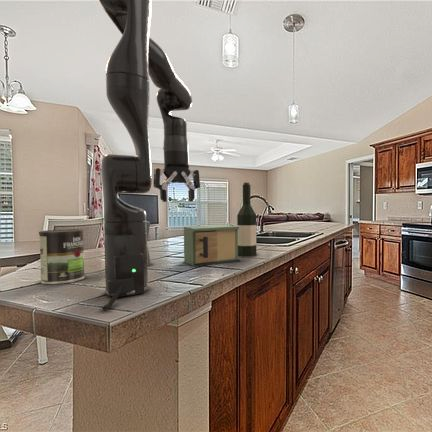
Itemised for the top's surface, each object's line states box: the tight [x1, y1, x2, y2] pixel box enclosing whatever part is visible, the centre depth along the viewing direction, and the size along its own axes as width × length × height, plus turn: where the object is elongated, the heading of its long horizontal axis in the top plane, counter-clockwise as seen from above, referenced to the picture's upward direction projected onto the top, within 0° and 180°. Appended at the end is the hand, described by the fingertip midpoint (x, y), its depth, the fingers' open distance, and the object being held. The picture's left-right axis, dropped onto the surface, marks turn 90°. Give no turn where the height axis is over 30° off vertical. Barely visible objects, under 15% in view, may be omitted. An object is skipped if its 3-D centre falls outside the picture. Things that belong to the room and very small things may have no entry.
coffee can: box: [38, 228, 86, 285], centre depth 91 cm, size 10×10×14 cm
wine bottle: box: [236, 182, 257, 257], centre depth 134 cm, size 8×8×30 cm
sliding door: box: [195, 231, 217, 263], centre depth 110 cm, size 6×8×11 cm
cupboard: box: [183, 224, 240, 267], centre depth 118 cm, size 11×17×13 cm, turn 125°
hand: (178, 201), depth 104 cm, fingers open, 8 cm apart
